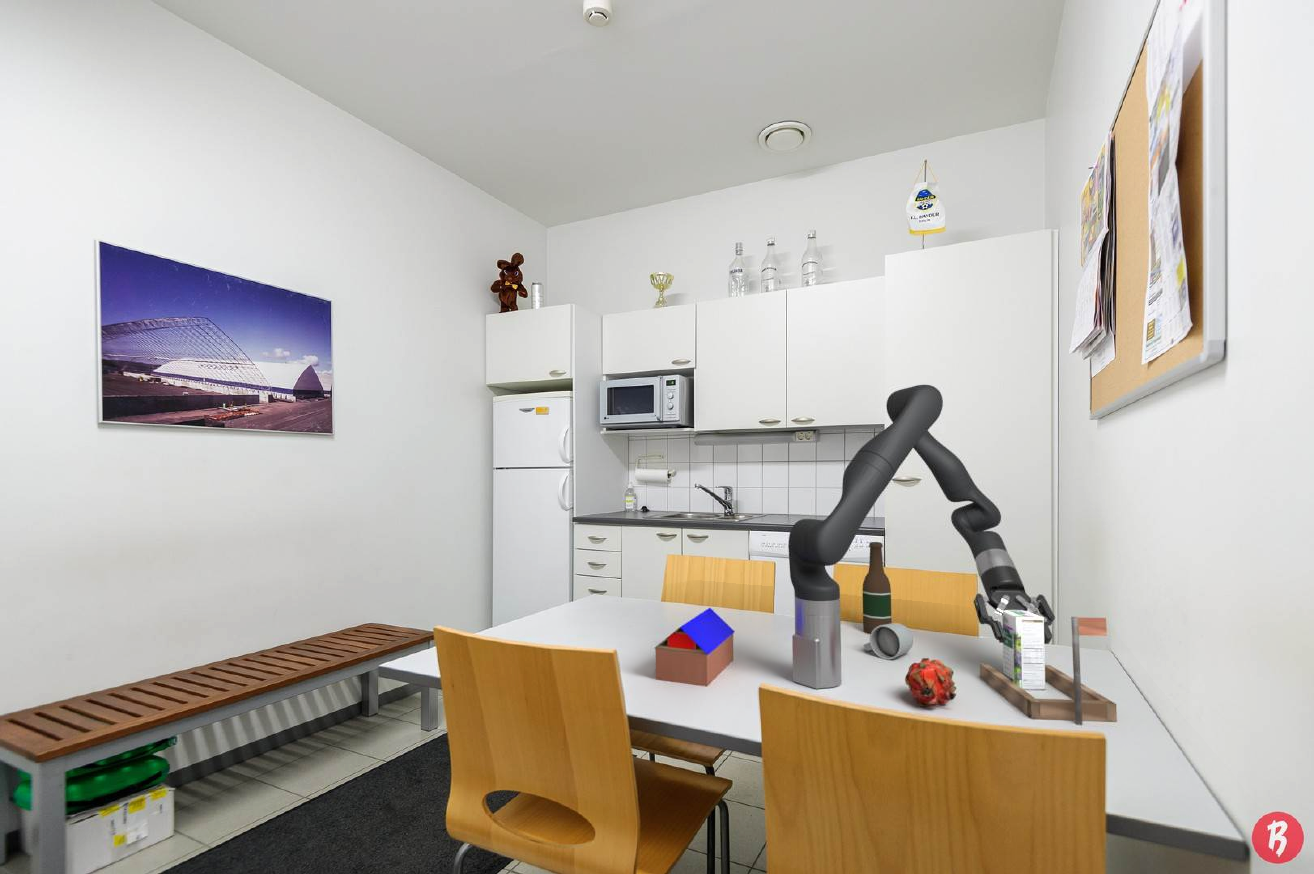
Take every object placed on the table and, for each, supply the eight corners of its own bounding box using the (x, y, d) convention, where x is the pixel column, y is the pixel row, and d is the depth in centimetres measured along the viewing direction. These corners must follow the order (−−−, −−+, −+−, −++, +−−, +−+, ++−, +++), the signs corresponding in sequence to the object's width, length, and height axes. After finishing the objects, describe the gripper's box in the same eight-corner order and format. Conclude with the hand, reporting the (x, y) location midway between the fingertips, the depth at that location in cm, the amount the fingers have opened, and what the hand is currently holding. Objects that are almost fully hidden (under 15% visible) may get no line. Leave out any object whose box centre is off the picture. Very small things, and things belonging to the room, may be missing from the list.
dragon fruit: (939, 700, 124) (932, 731, 113) (901, 670, 127) (890, 697, 116) (966, 670, 121) (961, 699, 110) (926, 640, 124) (918, 666, 113)
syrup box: (1002, 680, 130) (999, 609, 131) (1031, 680, 130) (1028, 609, 131) (1017, 690, 125) (1014, 615, 126) (1047, 690, 125) (1044, 615, 125)
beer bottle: (897, 631, 170) (895, 542, 171) (885, 637, 164) (883, 544, 166) (870, 627, 175) (868, 540, 176) (857, 632, 170) (855, 542, 171)
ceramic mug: (916, 655, 149) (914, 622, 149) (901, 662, 143) (899, 628, 143) (873, 647, 156) (872, 615, 156) (857, 654, 150) (856, 621, 151)
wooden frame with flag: (980, 677, 132) (977, 591, 133) (1050, 679, 131) (1047, 592, 132) (1037, 723, 108) (1033, 617, 109) (1124, 726, 107) (1119, 618, 108)
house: (653, 680, 132) (653, 624, 132) (686, 654, 150) (686, 605, 151) (708, 688, 127) (707, 629, 128) (735, 660, 145) (734, 609, 146)
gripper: (969, 563, 137) (993, 630, 125) (1038, 564, 136) (1069, 632, 124) (960, 584, 142) (983, 650, 130) (1027, 584, 141) (1056, 651, 129)
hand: (1025, 641), depth 127 cm, fingers open, 8 cm apart
